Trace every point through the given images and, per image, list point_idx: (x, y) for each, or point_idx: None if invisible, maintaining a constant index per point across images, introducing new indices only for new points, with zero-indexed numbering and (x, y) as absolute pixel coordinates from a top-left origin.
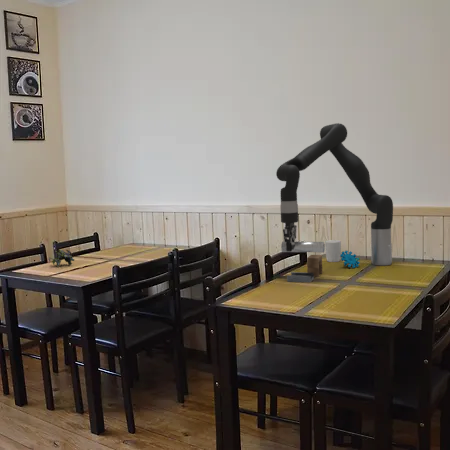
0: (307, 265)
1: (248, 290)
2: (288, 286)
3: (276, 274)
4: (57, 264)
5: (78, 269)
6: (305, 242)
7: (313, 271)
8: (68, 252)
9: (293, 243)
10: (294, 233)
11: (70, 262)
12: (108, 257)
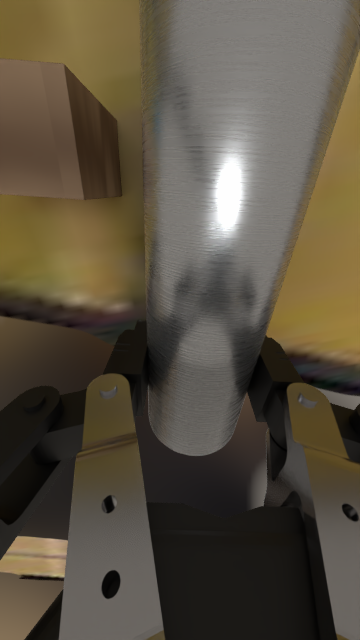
0: (103, 195)
1: (344, 364)
2: (317, 252)
3: (109, 335)
4: None
5: None
6: (291, 163)
7: (109, 153)
8: None
9: (253, 356)
10: (143, 503)
11: None
12: (62, 563)
